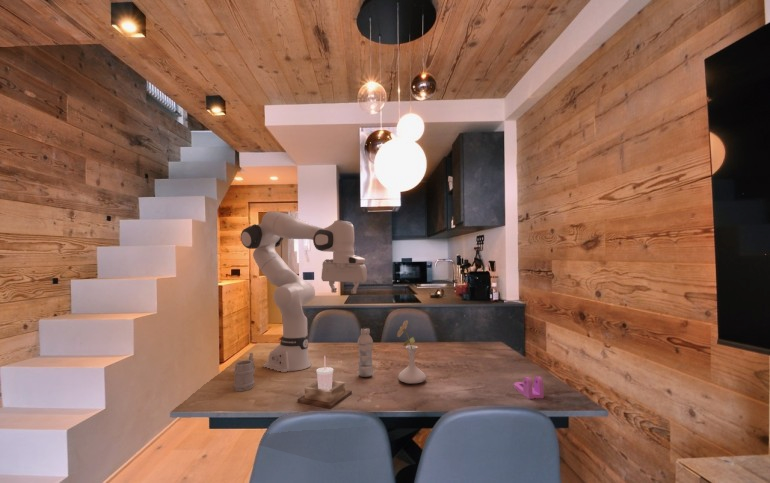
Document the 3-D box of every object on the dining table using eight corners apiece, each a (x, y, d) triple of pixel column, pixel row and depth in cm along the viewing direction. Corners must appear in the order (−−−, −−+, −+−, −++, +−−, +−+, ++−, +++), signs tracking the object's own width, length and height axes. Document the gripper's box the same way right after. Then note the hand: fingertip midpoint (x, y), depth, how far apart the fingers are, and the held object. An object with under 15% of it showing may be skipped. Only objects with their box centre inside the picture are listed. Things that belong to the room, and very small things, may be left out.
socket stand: (297, 402, 124) (297, 389, 124) (320, 388, 136) (320, 376, 137) (331, 408, 118) (331, 394, 118) (351, 393, 131) (351, 381, 131)
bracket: (543, 398, 124) (543, 378, 125) (528, 399, 124) (528, 379, 124) (524, 385, 137) (524, 367, 138) (511, 386, 137) (510, 367, 137)
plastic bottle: (371, 379, 146) (371, 330, 147) (356, 378, 147) (355, 330, 148) (375, 374, 152) (374, 327, 153) (360, 373, 154) (359, 327, 154)
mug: (229, 391, 135) (229, 359, 135) (244, 380, 146) (244, 351, 147) (248, 392, 134) (248, 360, 134) (262, 381, 146) (262, 351, 146)
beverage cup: (333, 397, 125) (333, 357, 125) (315, 398, 124) (315, 358, 125) (333, 391, 131) (333, 353, 131) (317, 392, 130) (316, 353, 131)
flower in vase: (410, 374, 151) (409, 316, 152) (432, 381, 143) (430, 319, 144) (389, 382, 142) (388, 320, 143) (410, 389, 134) (409, 323, 135)
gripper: (318, 259, 147) (318, 292, 146) (361, 259, 138) (361, 294, 138) (327, 259, 153) (326, 291, 152) (368, 259, 144) (369, 293, 143)
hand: (343, 292), depth 145 cm, fingers open, 8 cm apart
